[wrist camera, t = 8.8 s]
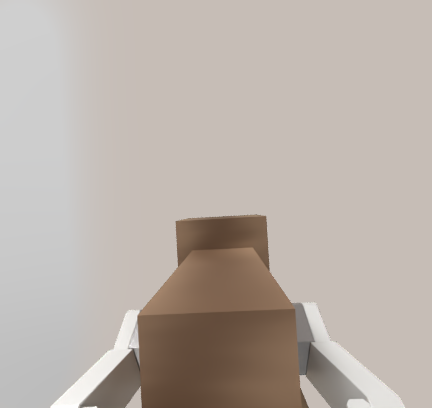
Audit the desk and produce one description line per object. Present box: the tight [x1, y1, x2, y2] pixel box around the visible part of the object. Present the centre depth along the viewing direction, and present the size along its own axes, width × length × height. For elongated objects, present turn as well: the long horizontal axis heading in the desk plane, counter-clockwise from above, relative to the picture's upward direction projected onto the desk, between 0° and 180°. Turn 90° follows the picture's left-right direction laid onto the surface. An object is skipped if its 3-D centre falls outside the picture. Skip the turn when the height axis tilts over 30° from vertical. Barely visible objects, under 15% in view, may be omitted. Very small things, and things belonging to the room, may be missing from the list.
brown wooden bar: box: [137, 215, 301, 408], centre depth 16 cm, size 6×18×6 cm, turn 178°
